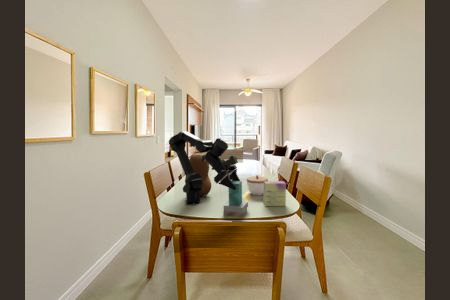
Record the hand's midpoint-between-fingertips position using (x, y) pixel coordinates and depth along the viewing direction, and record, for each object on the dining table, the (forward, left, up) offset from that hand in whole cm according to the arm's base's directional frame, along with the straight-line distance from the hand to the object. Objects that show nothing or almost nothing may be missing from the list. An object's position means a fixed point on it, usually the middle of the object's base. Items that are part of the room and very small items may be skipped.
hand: (238, 186), depth 108 cm
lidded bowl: (+22, +27, -13) cm, 37 cm away
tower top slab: (-1, +1, -11) cm, 11 cm away
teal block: (-1, +1, -8) cm, 8 cm away
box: (+22, +6, -13) cm, 26 cm away
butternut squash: (-12, +33, -13) cm, 37 cm away
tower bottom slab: (-1, +1, -13) cm, 13 cm away
